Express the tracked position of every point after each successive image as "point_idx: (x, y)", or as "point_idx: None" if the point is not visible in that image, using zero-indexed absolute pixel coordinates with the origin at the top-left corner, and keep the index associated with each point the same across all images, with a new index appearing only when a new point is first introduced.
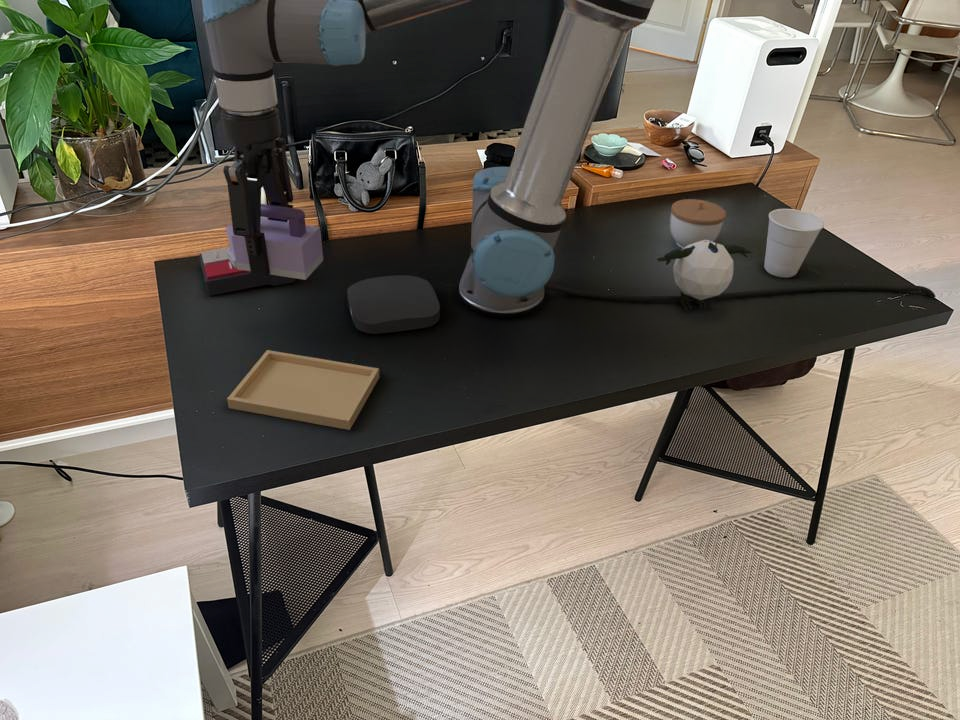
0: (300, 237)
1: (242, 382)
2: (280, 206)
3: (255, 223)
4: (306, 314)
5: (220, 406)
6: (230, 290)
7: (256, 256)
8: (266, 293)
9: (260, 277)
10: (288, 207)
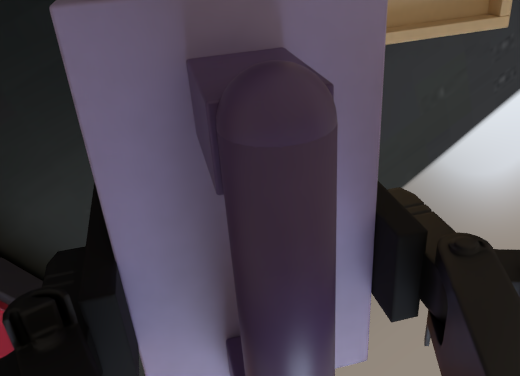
0: (285, 47)
1: (449, 30)
2: (280, 310)
3: (511, 288)
4: (66, 76)
5: (485, 44)
6: None
7: (401, 192)
8: (32, 236)
9: (10, 281)
10: (44, 325)
